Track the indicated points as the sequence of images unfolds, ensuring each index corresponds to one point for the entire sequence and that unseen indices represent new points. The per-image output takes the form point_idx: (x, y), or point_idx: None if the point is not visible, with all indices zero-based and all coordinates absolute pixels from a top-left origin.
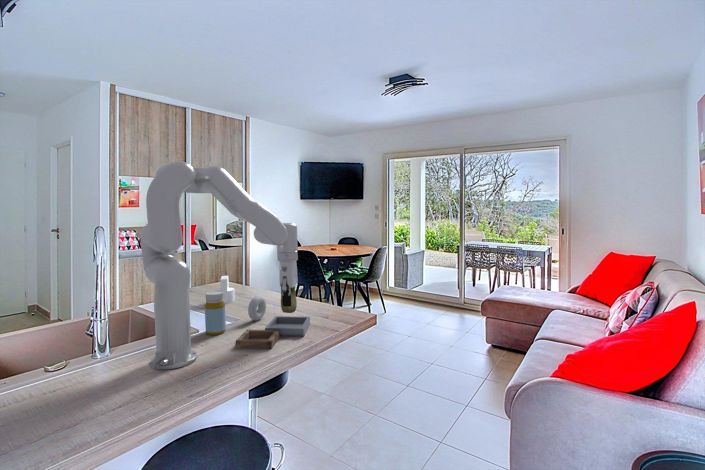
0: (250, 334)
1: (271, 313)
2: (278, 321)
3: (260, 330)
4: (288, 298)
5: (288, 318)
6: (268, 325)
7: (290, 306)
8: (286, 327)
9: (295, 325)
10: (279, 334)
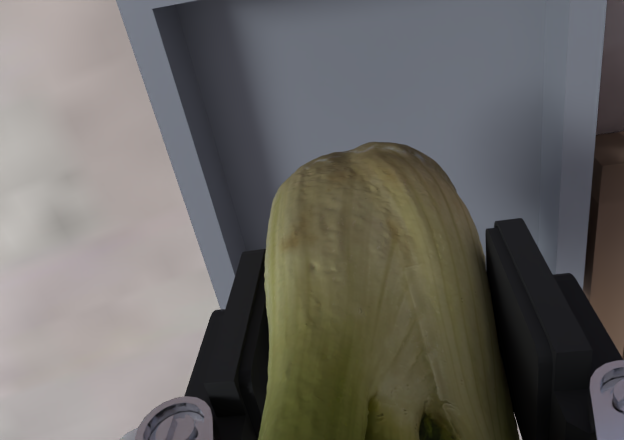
0: None
1: (29, 392)
2: None
3: (608, 317)
4: (594, 342)
5: (221, 213)
6: None
7: (470, 226)
8: (565, 119)
9: (292, 97)
10: (601, 147)
